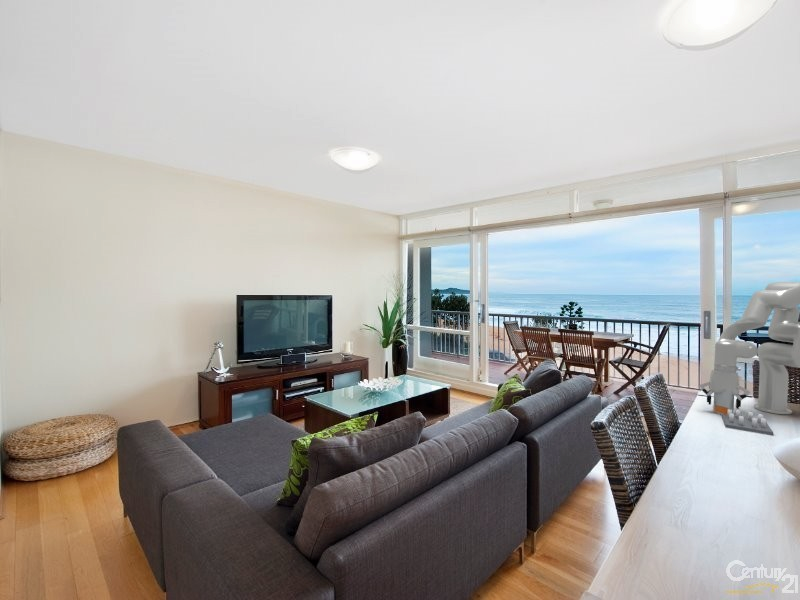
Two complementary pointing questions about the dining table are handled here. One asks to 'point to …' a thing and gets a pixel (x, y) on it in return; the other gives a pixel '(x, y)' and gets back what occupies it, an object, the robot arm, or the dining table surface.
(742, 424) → the peg board
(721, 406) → the skincare box
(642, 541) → the dining table surface
